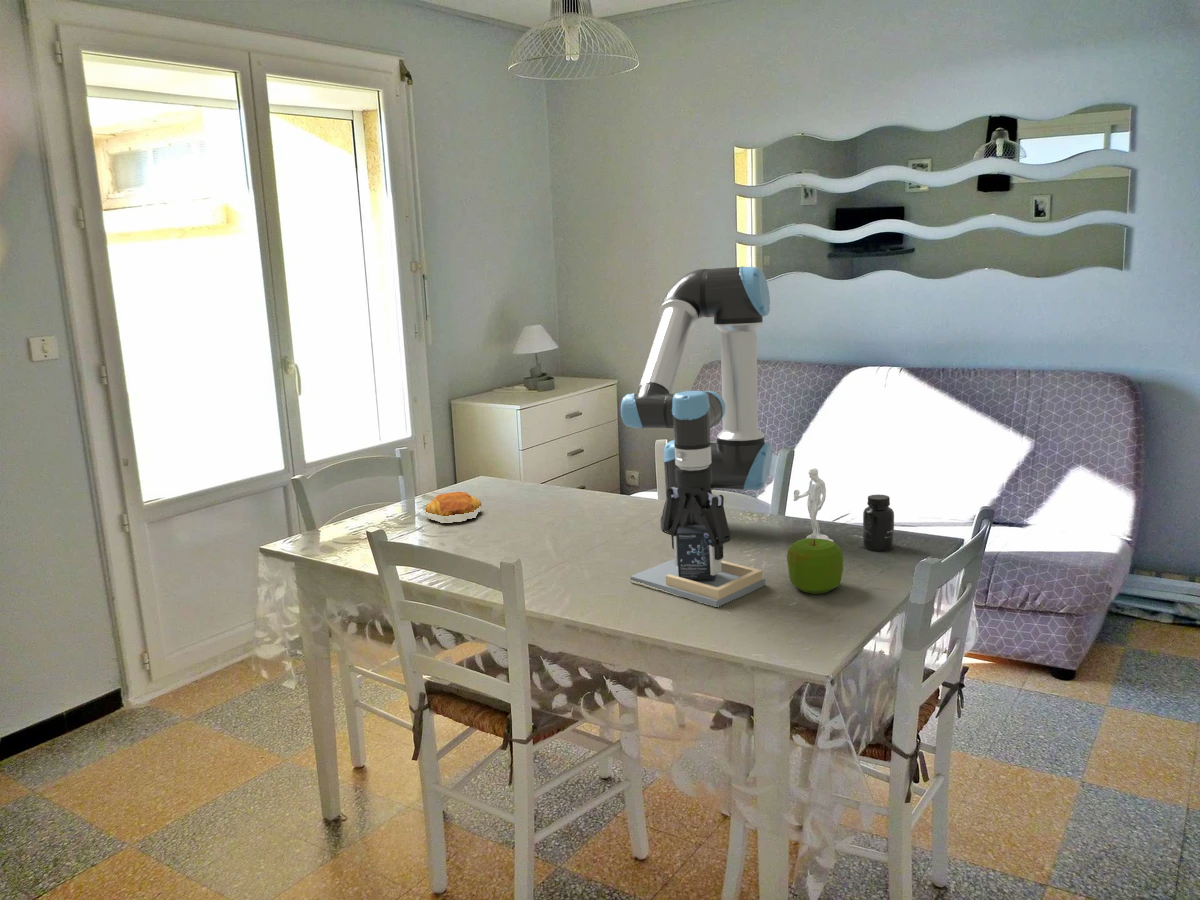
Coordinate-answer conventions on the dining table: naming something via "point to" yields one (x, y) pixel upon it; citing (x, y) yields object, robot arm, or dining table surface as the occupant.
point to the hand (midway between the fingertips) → (697, 568)
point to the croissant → (453, 504)
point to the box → (694, 552)
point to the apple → (815, 565)
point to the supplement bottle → (878, 524)
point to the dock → (704, 582)
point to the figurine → (814, 502)
